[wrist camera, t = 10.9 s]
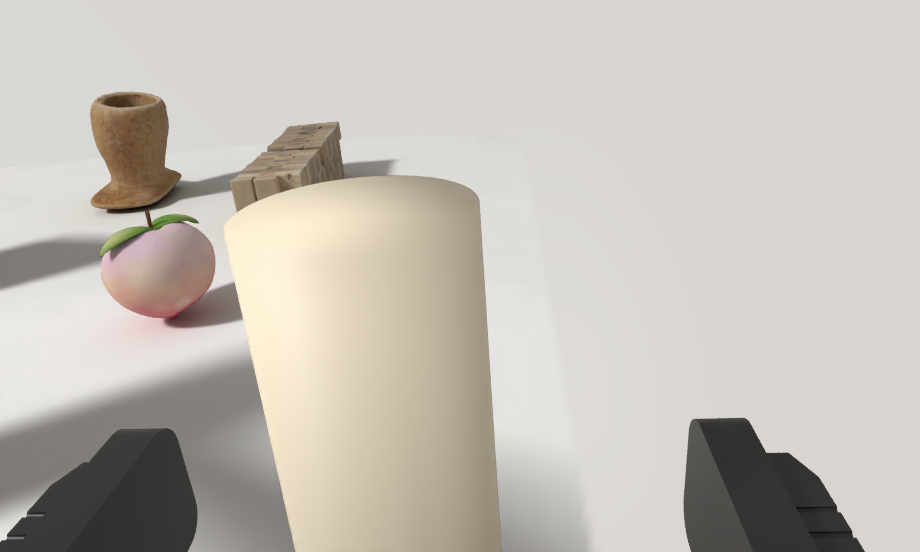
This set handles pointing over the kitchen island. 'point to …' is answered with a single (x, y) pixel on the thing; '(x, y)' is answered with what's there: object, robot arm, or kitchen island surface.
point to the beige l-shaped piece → (373, 361)
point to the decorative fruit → (158, 266)
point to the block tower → (291, 163)
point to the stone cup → (132, 149)
